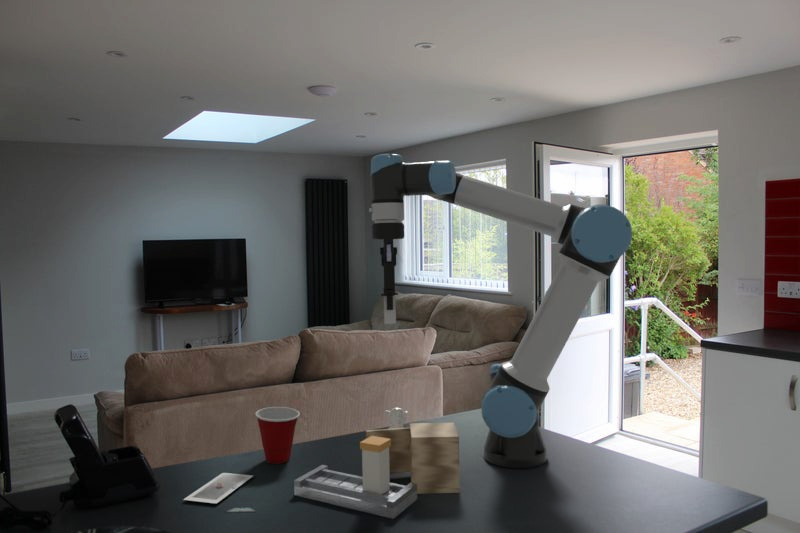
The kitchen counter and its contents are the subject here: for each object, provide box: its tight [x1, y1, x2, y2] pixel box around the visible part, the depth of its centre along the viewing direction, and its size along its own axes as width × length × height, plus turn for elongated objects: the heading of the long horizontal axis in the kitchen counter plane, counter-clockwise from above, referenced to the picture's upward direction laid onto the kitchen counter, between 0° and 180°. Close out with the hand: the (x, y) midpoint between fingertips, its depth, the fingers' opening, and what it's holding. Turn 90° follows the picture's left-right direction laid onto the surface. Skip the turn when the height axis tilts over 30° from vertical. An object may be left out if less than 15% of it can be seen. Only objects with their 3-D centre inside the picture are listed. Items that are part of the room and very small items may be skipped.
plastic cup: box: [254, 406, 301, 465], centre depth 147 cm, size 11×11×12 cm
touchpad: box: [182, 472, 254, 504], centre depth 129 cm, size 8×15×2 cm, turn 165°
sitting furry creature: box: [384, 406, 408, 429], centre depth 149 cm, size 10×9×12 cm
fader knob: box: [359, 436, 391, 495], centre depth 122 cm, size 5×5×10 cm
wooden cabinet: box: [365, 422, 461, 495], centre depth 131 cm, size 20×10×12 cm, turn 91°
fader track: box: [293, 464, 418, 520], centre depth 125 cm, size 24×10×3 cm, turn 61°
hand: (390, 323), depth 140 cm, fingers closed
